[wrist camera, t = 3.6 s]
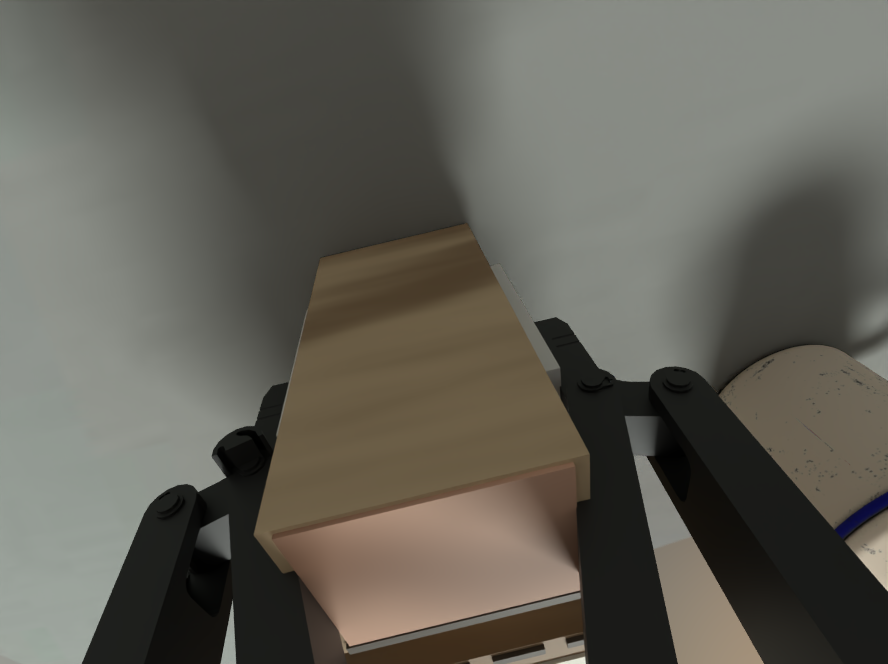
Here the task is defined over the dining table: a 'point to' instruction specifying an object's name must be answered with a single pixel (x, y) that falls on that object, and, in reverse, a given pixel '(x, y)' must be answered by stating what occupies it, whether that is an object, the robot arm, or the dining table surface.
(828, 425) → the teacup with lid
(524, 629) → the tan wooden crate
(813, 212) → the dining table surface
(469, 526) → the pink-ended wooden block
